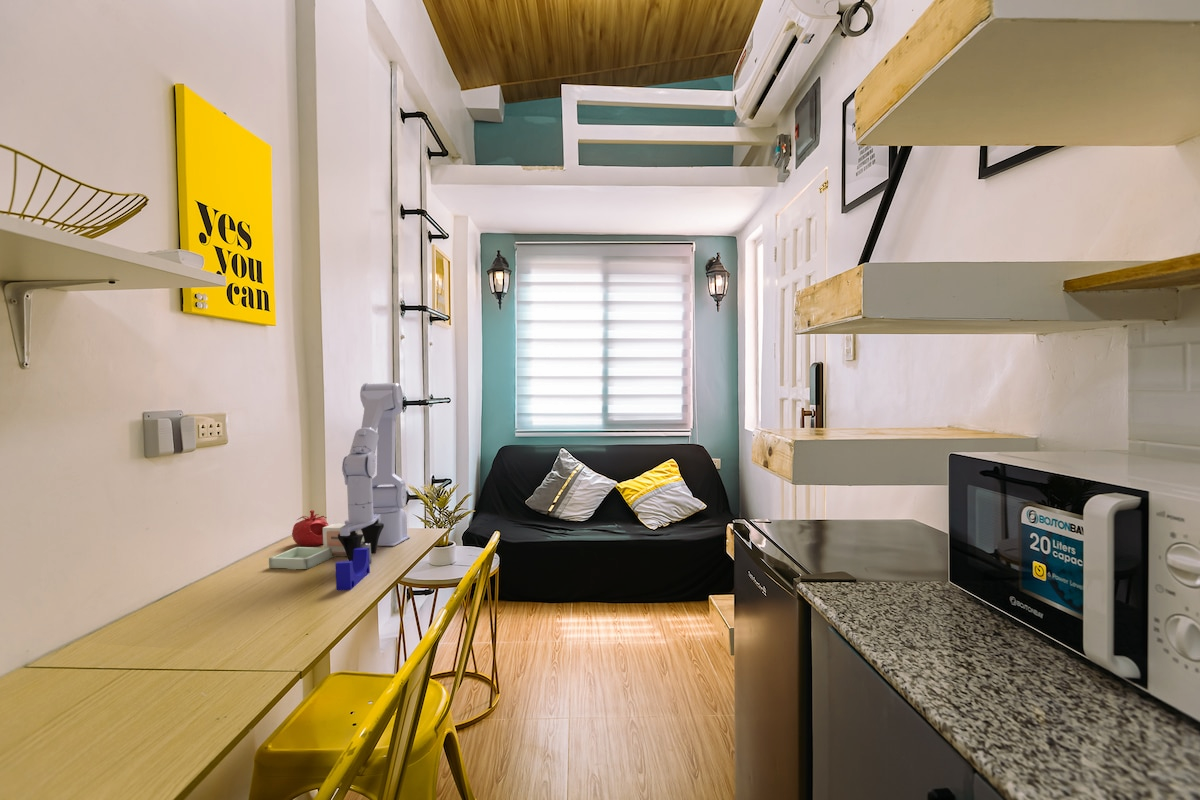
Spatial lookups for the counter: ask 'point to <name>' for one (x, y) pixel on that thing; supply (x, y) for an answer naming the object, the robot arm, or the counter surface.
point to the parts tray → (300, 558)
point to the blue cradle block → (352, 569)
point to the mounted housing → (335, 539)
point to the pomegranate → (309, 530)
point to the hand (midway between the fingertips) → (362, 557)
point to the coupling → (367, 545)
